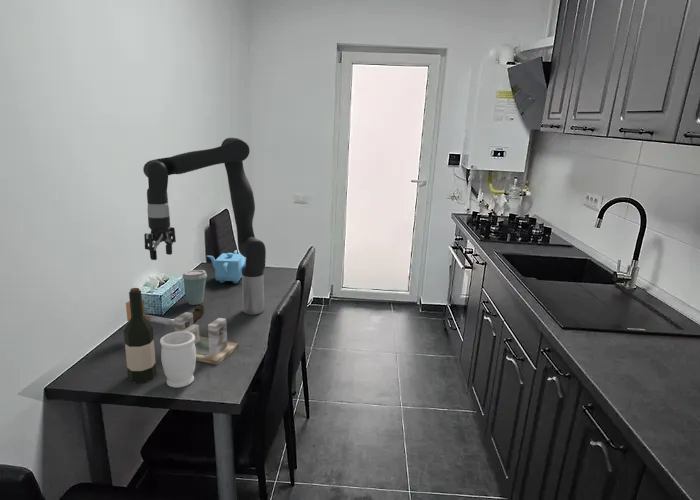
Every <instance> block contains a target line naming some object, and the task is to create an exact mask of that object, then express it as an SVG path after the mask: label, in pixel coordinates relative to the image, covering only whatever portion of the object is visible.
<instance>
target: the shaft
mask: <svg viewBox="0 0 700 500" xmlns="http://www.w3.org/2000/svg"><path fill="white" fill-rule="evenodd" d="M125 308H126V309H125V310H126V319H127V321H126V322H127V323H128V322H129V321H130V319H131V310H130V300H128V301H126V302H125ZM142 308H143V316H144V318H145V319H146V320H147V321H148V322H149V323H156V324H161V325H167V326H172V327H174V318H173V319H172V318H166V317H161V316H155V315H150V314H146V313H145V303H144V301H143V300H142ZM185 327H186V323H185Z"/></svg>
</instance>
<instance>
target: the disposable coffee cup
mask: <svg viewBox="0 0 700 500" xmlns="http://www.w3.org/2000/svg"><path fill="white" fill-rule="evenodd" d="M207 277H208V274H207V272H206V270H204V269H194V270H193V269H192V270H191V269H190V270H188V271H185V272H183V273H182V278H183V283H184V289H185V293H186V299H187V303H188V304H189V305H193V306H197V305H198V306H199V305H202V303H203V302H204V297H205V291H206V284H207V283H206V281H207Z"/></svg>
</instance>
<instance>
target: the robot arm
mask: <svg viewBox="0 0 700 500" xmlns="http://www.w3.org/2000/svg"><path fill="white" fill-rule="evenodd" d="M250 151H251V150H250V145H249V144H248V142H246V141H245V140H244V139H242V138H237V137H226V138H225V139H224V140H223V141H222V142H221V145H220V146H217V147H212V148H208V149H200V150H199V149H198V150H193V151H187V152H184V153H179V154H175V155H172V156H169V157H168V156H167V157H163V158H161V157H160V158H155V159H151V160H149V161H147V162H146V163H145V164H144V166H143V167H142V168H143V169H142V171H143V174H144V175H145V177H147V180H148V189H147V190H146V201H147V209H146V210H147V224H148V229H150V233H146V232H145V233H144V237H143V238H144V249H145V250H147V251H149V256H150V257H149V258H150V260H151V261H157V260H158V256H157V255H158V254H157V252H158V251H157V248H158V246H159V245H160V243H162V242H164V244H165V254H166V255H170V256H171V255H173V244H174V243H176V241H177V240H176V230H175V227H172V226H171V216H170V206H169V197H168V183H169V176H173V175H183V174H186V173H189V172H194V171H197V170H199V169H201V170H202V169H203V168H207V167H211V166H216V165H221V164H224V167H225V171H226V175H227V180H228V181H227V182H228V188H229V193H230V201H231V206H232V211H233V215H234V216H233V217H234V222H235V226H236V227H235V228H236V235H237V237H236V238H237V248H238V251H239V254H241V255H242V256H244V257H245V261H246V266H244V267H243V268H242V279H241V281H242V283H241V287H242V313H244V314H247V315H259V314H262V313H264V311H265V288H264V287H265V285H264V283H265V282H264V280H265V279H264V271H265V268H266V261H267V260H266V258H267V257H266V255H267V254H266V252H267V251H266V245H265V243H264V241H262V240H260V239H258V238H256V237H255V233H254V227H253V221H254V220H253V219H254V216H255V212H256V202H255V197H254V192H253V189H252V185H251V184H250V182H249V180H248V177H247V175H246V172H245V168H244V161H245V160H246V159H247V158H248V157H249V155H250Z"/></svg>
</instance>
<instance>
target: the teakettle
mask: <svg viewBox="0 0 700 500" xmlns="http://www.w3.org/2000/svg"><path fill="white" fill-rule="evenodd" d="M206 257H207V258H209V259H210V260H211V264H212V267H213V269H214V270H215V271H214V273H215V275H214V276H215V281H218V282H219V283H220V284H223V283H225V282H232V283H233V284H239V282H240V280H242V279H241V278H242V268H243V267H244V266H246V257H244V256H242V255H241V253H238V250H237V249H236V250H234V252H227V253H225V252H224V253H221V254H220V255H219V256H218V257H217V258H216V259H215V257H214V256H213V255H206Z"/></svg>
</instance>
